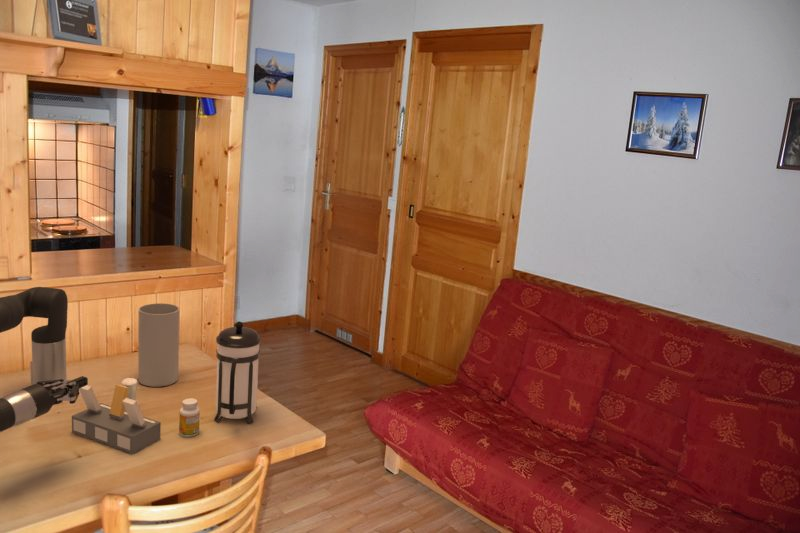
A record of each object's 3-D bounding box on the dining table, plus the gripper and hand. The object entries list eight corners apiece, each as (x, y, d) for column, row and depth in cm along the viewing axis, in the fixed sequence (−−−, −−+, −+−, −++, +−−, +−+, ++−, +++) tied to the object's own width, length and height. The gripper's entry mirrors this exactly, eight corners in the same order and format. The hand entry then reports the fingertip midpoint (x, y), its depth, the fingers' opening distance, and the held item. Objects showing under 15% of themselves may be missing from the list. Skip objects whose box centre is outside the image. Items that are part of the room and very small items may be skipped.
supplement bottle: (178, 429, 187) (178, 398, 185) (198, 427, 189) (198, 396, 187) (180, 438, 182) (180, 406, 180) (200, 436, 184) (200, 404, 182)
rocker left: (87, 410, 183) (76, 386, 178) (91, 406, 184) (80, 383, 179) (99, 414, 181) (88, 390, 176) (102, 410, 182) (92, 387, 178)
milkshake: (134, 412, 195) (134, 380, 193) (118, 409, 196) (118, 377, 194) (143, 406, 200) (143, 375, 197) (127, 403, 201) (127, 372, 198)
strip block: (71, 432, 180) (71, 415, 179) (101, 419, 189) (101, 402, 188) (132, 454, 172) (132, 436, 171) (160, 438, 181) (160, 421, 180)
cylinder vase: (163, 370, 227) (164, 301, 222) (185, 380, 220) (187, 309, 215) (130, 379, 217) (130, 307, 212) (153, 391, 210) (153, 316, 205)
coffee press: (197, 414, 197) (199, 319, 191) (242, 401, 209) (246, 311, 203) (229, 436, 186) (232, 336, 180) (275, 421, 198) (280, 326, 191)
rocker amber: (107, 416, 180) (114, 384, 180) (111, 415, 181) (118, 384, 181) (119, 420, 178) (126, 388, 178) (123, 419, 179) (130, 387, 180)
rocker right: (130, 424, 177) (121, 400, 172) (134, 421, 178) (125, 397, 173) (143, 429, 175) (133, 404, 170) (147, 425, 176) (137, 401, 172)
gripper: (4, 413, 155) (67, 387, 170) (44, 427, 150) (105, 400, 165) (2, 383, 153) (66, 360, 169) (42, 397, 148) (104, 372, 164)
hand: (85, 380), depth 167 cm, fingers closed
